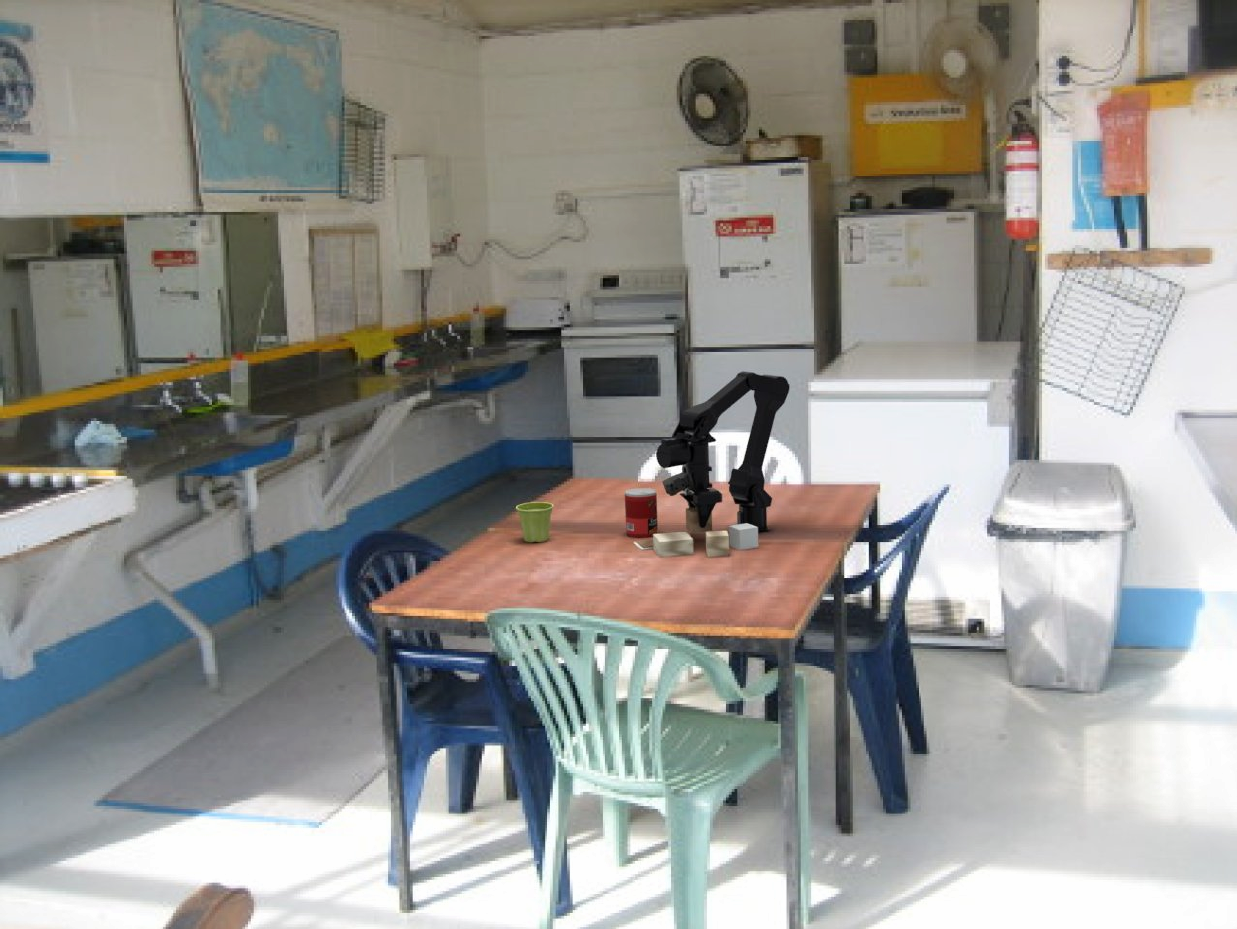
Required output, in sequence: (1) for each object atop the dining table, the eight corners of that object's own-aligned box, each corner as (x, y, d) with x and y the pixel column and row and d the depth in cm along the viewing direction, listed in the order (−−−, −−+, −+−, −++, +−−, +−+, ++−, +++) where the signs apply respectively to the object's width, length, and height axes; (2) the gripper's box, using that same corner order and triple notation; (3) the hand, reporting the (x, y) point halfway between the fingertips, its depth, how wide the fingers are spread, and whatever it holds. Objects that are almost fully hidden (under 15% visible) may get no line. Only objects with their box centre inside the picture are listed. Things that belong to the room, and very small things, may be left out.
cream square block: (686, 547, 319) (685, 531, 318) (693, 555, 311) (693, 539, 311) (653, 550, 318) (653, 534, 317) (660, 558, 310) (659, 542, 309)
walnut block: (705, 526, 326) (705, 506, 325) (712, 530, 321) (711, 510, 320) (686, 528, 325) (685, 508, 324) (692, 532, 320) (692, 512, 319)
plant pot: (563, 538, 332) (561, 504, 330) (535, 546, 325) (533, 512, 323) (537, 533, 338) (535, 500, 336) (509, 541, 331) (508, 507, 330)
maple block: (727, 551, 314) (726, 530, 313) (729, 556, 309) (728, 535, 308) (706, 552, 314) (705, 531, 313) (707, 557, 309) (707, 536, 308)
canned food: (655, 538, 329) (653, 494, 327) (623, 537, 330) (621, 494, 328) (660, 530, 336) (658, 488, 334) (629, 530, 338) (627, 488, 336)
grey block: (747, 543, 320) (747, 523, 319) (758, 547, 316) (757, 527, 315) (729, 546, 318) (729, 525, 317) (740, 550, 314) (739, 530, 313)
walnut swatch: (661, 540, 326) (661, 538, 326) (670, 547, 319) (670, 544, 319) (633, 543, 324) (633, 541, 324) (641, 550, 317) (641, 547, 317)
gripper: (654, 458, 327) (656, 520, 330) (676, 472, 309) (679, 537, 312) (697, 454, 329) (699, 516, 332) (722, 467, 312) (723, 532, 315)
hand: (699, 525), depth 323 cm, fingers closed on walnut block, 5 cm apart
